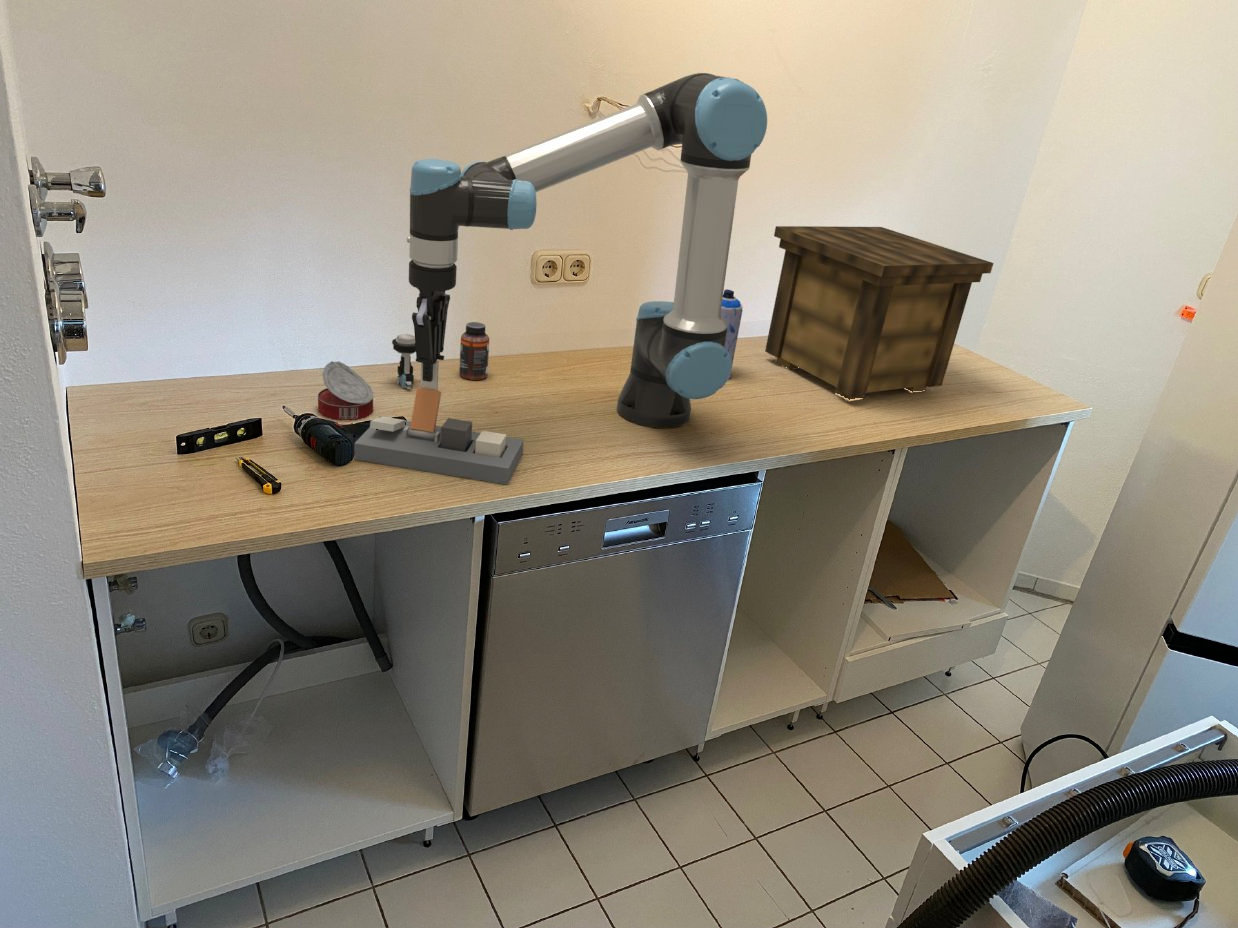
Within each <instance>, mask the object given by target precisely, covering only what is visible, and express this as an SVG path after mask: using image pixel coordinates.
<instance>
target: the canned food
mask: <svg viewBox="0 0 1238 928" xmlns="http://www.w3.org/2000/svg"><path fill="white" fill-rule="evenodd" d="M322 380H323V384H324V385H325V387H326V388H324V389H322V390H321V391H319V392H318V394H317V409H318V413H319V415H321V416H323V417H324V418H326V419H330V420H334V421H335V420H336V421H342V420H349V421H358V419H359V420H363V419H365V418H368V417H370V416H371V415H372V414H373V413H374V391H373V390H372V387H371V385H369V384H368V383H367V381H365V379H364V378H363V377H362V376H360V375H359V374H358V373H357V372H356V371H355V370H353V369H352V368H350V367H349V366H348V365H347V364H345V363H343V362H341V361H333V360H332V361H330V362H328V363H327V364H326V365H325V367H324V369H323V371H322ZM369 415H370V416H369ZM367 416H368V417H367ZM362 418H363V419H362ZM349 421H348V422H349Z"/></svg>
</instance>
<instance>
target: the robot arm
mask: <svg viewBox="0 0 1238 928" xmlns="http://www.w3.org/2000/svg"><path fill="white" fill-rule="evenodd" d="M767 129H768V112H767V108H766V105H765V102H764V100H763V98H762V97H761V95H760V94H759V93H758V92H757V91H756V89H755V88H753V87H752V86H751V85H750V84H747V83H745V82H744V81H741V80H739V79H738V78H733V77H730V76H728V77H727V76H720V75H715V74H712V73H706V72H698V73H692V74H689V75H686V76H683V77H681V78H679V79H677V80H674V81H671V82H668V83H667V84H664V85H662V86H659V87H658V88H654V89H653V90H650V91H648V92H645V93H643V94H641V95H639V97H638V99H637V102H636V103H635V104H632V105H630V106H627V107H624V108H622V109H619V110H617V111H615V112H611V113H610V114H609V113H608V114H607V115H604V116H602V117H599V118H597V119H594V120H592V121H589V122H586V123H584V124H581V125H578V126H577V127H574V128H570V129H568V130H565V131H564V132H560V133H559V134H556V135H553V136H551V137H548V138H545V139H543V140H541V141H538V142H535V143H532V144H530V145H528V146H526V147H523V148H521V149H517V150H516V151H513V152H510V153H508V154H506V155H504V156H501V157H498V158H494V159H492V160H490V161H474V162H471V163H469V164H468V165H466V166H465V167H464V169H462V168H461V166H460V165H459V164H457V163H456V162H454V161H450V160H443V159H437V158H423V159H419V160H417V161H415V162H414V163H413V165H412V167H411V175H410V187H409V236H408V237H407V238H406V242H407V243H408V244H409V258H410V261H409V262H408V283H409V285H411V287H413V288H416V289H417V290H418V292H419V294H418V296H416V297H417V298H416V308H417V312H414V311H413V312H412V315H411V320H412V323H413V324H412V325H413V329H414V330H413V331H414V337H415V346H416V352H415V354H416V355H415V356H416V358H415V362H416V363H420V388H421V389H427V390H434V391H438V390H439V367H440V366H439V365H440V364H439V363H440V361H444V360H445V355H443V354H441V353H443V352H444V346H445V336H446V329H447V320H448V309H449V304H450V301H451V295H450V294H447V293H446V291H447V292H448V291H450V290H452V289H454V288H455V287H456V285H457V269H458V268H457V267H458V266H457V265H456V262H457V261H458V247H459V246H458V245H459V227H468V228H469V227H474V228H489V229H503V230H505V229H506V230H510V231H513V230H527V229H530V228H531V227H532V226H533V225H534V222H535V221H536V220H535V219H536V213H537V202H538V201H537V193H538V192H541V191H543V190H546V189H548V188H551V187H554V186H556V185H558V184H561V183H564V182H566V181H568V180H572V179H573V178H576V177H579V176H581V175H583V174H587V173H588V172H590V171H594V170H596V169H599V168H601V167H604V166H606V165H610V164H611V163H614V162H617V161H619V160H621V159H624V158H626V157H629V156H632V155H634V154H636V153H639V152H642V151H645V150H647V149H650V148H653V149H654V150H657V151H660V150H663V149H666V148H668V147H672V146H676V145H681V151H680V159H679V161H680V163H681V165H682V166H683V168H684V169H685V170H686V172H687V179H686V191H685V196H684V197H685V199H684V206H683V207H684V209H683V216H682V225H681V235H680V244H679V253H678V262H677V271H676V279H675V281H676V282H675V289H674V298H673V301H664V300H663V301H662V300H660V301H659V300H657V301H656V300H654V301H652V300H651V301H646V302H643V303H642V304H641V305H640V306H639V308H638V313H637V317H636V319H635V322H636V325H635V332H634V339H633V348H632V354H631V355H632V357H631V362H630V364H631V365H630V371H629V375H628V377H627V379H626V381H625V383H624V384H623V386H622V389H621V391H620V393H619V395H618V397H617V404H616V411H617V413H618V414H619V415H620V416H621V417H622V418H624V419H625V420H627V421H629V422H632V423H634V424H638V425H640V426H645V427H651V428H660V429H661V428H662V429H668V428H677V427H682V426H684V425H686V424H687V423H689V421H690V419H691V413H692V404H691V400H702V399H705V398H709V397H712V395H715V394H716V392H718V391H719V390H720V389H722V388H723V387H724V386H725V384H726V383H727V382H728V380H730V379H729V376H730V374H731V375H732V369H733V364H732V360H731V357H730V354H729V352H728V350H727V349H726V348H725V340H726V332H727V323H726V321H725V320H724V319H723V318H722V317H721V314H720V313H721V306H722V298H723V294H724V290H725V282H726V275H727V268H728V261H729V253H730V245H731V240H732V239H731V238H732V230H733V223H734V216H735V208H736V201H737V195H738V194H737V193H738V187H739V180H740V178H741V177H742V176H743V175H744V174H745V173H746V172H747V171H748V170H750V166H751V159H752V154H754V152H755V151H756V149H757V148H758V147H760V145H761V144H762V142H763V140H764V138H765V136H766V133H767ZM461 169H462V170H461Z"/></svg>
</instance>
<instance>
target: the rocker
mask: <svg viewBox="0 0 1238 928" xmlns="http://www.w3.org/2000/svg"><path fill="white" fill-rule="evenodd" d="M379 417H380V418H379ZM379 417H378V418H375V419H372V420H370V424H369V428H374V429H380V430H386V431H392V432H394V431H396V430H398V429H401V428H403V427H404V426H405V421H406V420H405V419H400V418H393V417H388V416H379Z"/></svg>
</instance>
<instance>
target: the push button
mask: <svg viewBox="0 0 1238 928" xmlns="http://www.w3.org/2000/svg"><path fill="white" fill-rule="evenodd" d="M391 344H392V346H393V350H394V351H395V352H396V353H398V354H400V361H399V365H397V378H396V383H397V385H399V383H400V385H401V387H402V389H407V390H412V385H414V378H415V377H414V367H413V365H412V362H411V358H412V357H411V355H412V354H416V346H415V335H412V334H409V333H406V334H405V333H403V334H398V335H397V336H396V338H394V339H392V341H391Z"/></svg>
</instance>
